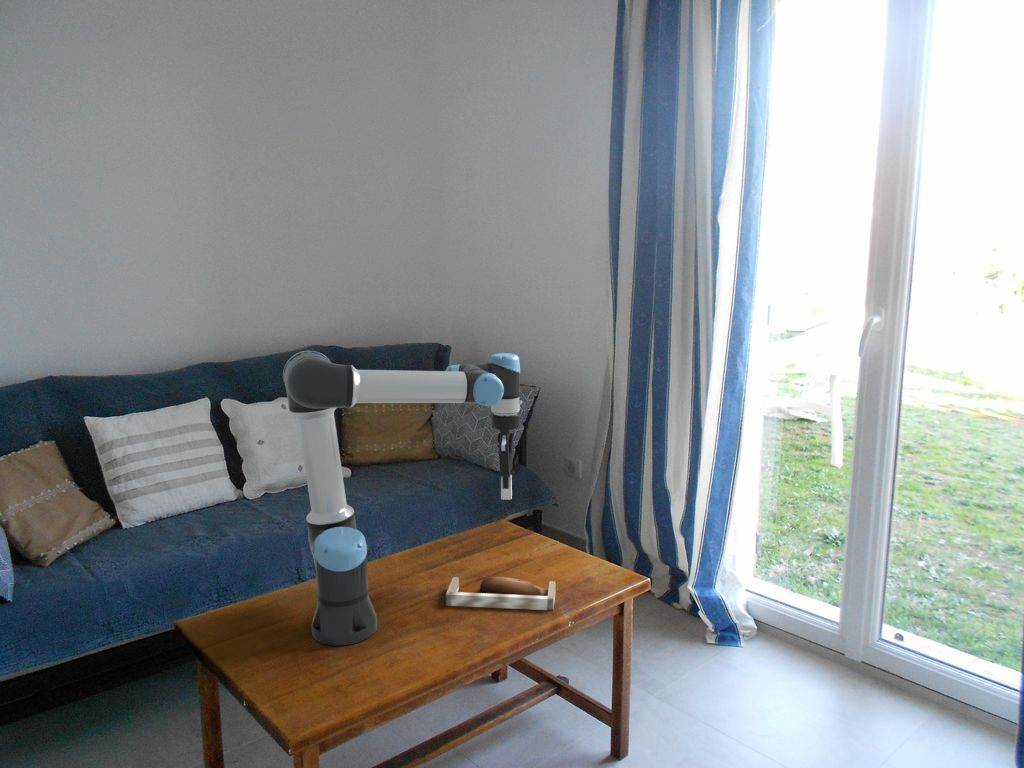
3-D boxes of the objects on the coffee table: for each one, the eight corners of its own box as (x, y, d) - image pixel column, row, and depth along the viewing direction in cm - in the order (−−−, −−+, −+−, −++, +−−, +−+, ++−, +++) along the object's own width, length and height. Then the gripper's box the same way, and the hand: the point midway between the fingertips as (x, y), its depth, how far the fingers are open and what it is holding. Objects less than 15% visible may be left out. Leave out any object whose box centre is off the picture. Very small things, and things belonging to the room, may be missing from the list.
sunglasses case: (555, 592, 195) (549, 576, 191) (545, 615, 190) (539, 599, 186) (494, 578, 203) (488, 563, 199) (484, 600, 199) (477, 585, 194)
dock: (446, 605, 188) (445, 594, 188) (453, 587, 198) (453, 577, 198) (553, 610, 185) (553, 599, 185) (555, 592, 195) (555, 581, 195)
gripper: (517, 418, 189) (517, 507, 194) (522, 407, 202) (522, 491, 206) (488, 418, 190) (489, 506, 194) (494, 407, 203) (495, 490, 207)
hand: (506, 498), depth 200 cm, fingers closed
